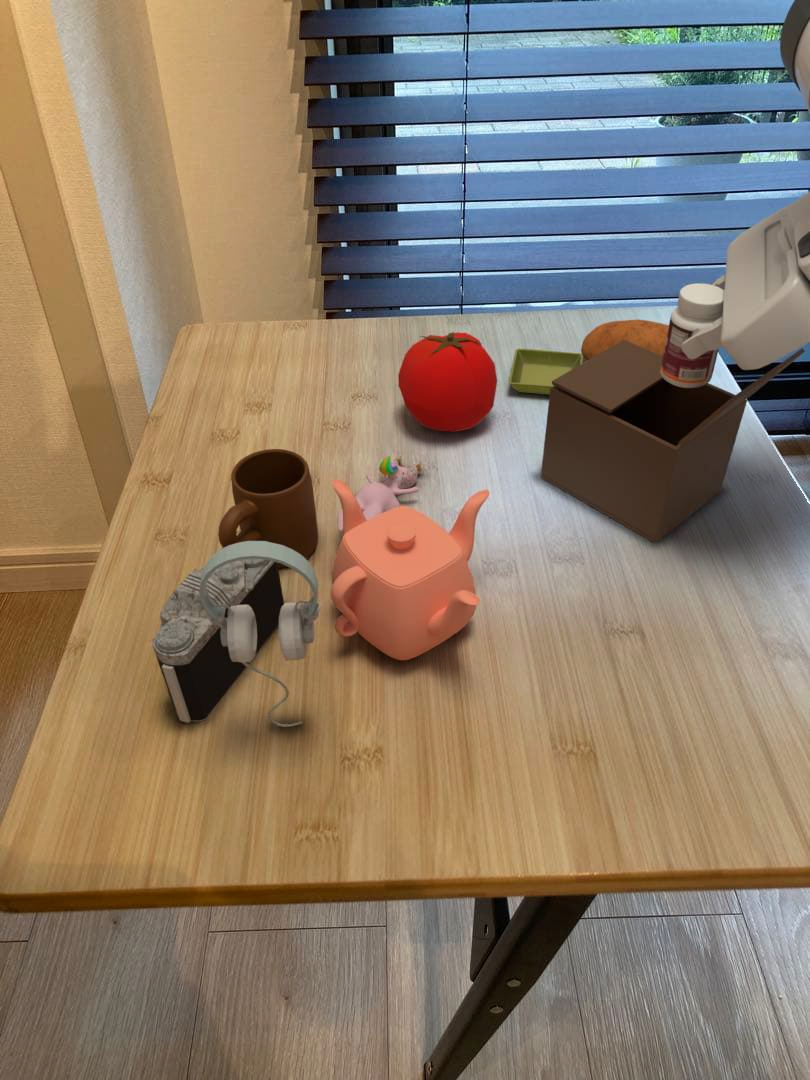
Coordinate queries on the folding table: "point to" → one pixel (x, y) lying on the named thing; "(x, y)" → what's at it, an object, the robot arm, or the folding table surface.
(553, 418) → the carton
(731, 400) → the flap
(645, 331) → the potato
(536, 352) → the olive green tray
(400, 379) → the tomato
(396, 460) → the pink animal figure
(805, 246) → the robot arm
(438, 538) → the teapot
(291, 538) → the mug
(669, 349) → the pill bottle
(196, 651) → the camera
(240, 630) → the headphones
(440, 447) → the folding table surface
